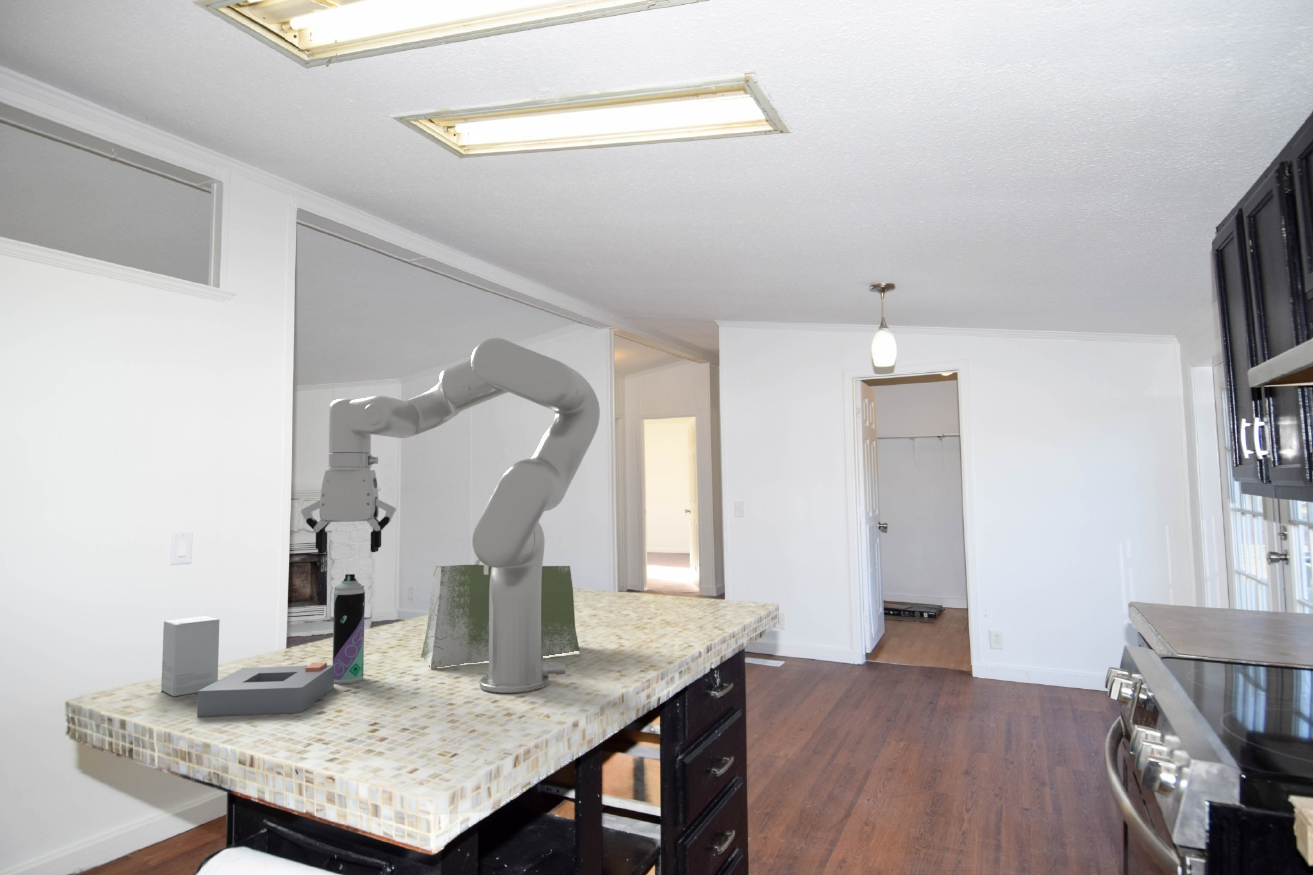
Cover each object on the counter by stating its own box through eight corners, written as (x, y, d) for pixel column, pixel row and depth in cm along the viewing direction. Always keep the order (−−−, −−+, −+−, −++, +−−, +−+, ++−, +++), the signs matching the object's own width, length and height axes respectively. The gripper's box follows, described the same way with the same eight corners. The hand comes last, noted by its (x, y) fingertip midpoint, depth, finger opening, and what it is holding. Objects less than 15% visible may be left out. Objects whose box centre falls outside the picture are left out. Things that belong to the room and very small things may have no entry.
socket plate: (333, 687, 137) (334, 661, 138) (301, 712, 121) (302, 683, 122) (242, 690, 136) (242, 664, 136) (197, 716, 120) (198, 687, 120)
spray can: (337, 685, 138) (340, 576, 140) (328, 680, 142) (330, 573, 144) (367, 680, 142) (369, 573, 143) (357, 675, 146) (359, 571, 148)
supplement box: (218, 689, 137) (220, 618, 138) (171, 697, 131) (174, 624, 132) (205, 682, 142) (207, 614, 143) (159, 690, 136) (162, 619, 137)
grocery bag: (563, 643, 175) (562, 544, 177) (581, 655, 162) (581, 547, 164) (420, 657, 162) (421, 549, 164) (428, 670, 150) (429, 553, 151)
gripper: (400, 463, 150) (399, 549, 148) (310, 464, 148) (308, 551, 147) (391, 461, 142) (390, 552, 141) (295, 463, 140) (294, 555, 139)
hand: (348, 552), depth 144 cm, fingers open, 9 cm apart
